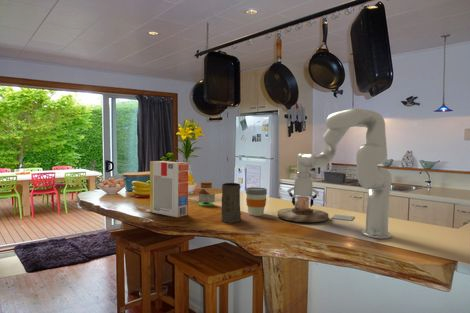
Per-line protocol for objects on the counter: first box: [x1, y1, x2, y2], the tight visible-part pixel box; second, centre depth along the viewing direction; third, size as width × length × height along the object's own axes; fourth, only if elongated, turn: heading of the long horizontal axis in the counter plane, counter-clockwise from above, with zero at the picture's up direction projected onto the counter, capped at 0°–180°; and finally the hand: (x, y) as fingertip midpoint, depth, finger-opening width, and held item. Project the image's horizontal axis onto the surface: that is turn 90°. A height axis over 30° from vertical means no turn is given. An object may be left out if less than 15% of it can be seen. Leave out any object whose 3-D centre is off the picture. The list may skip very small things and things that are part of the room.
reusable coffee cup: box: [245, 186, 268, 217], centre depth 198 cm, size 13×13×15 cm
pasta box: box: [149, 160, 189, 218], centre depth 195 cm, size 23×8×30 cm, turn 56°
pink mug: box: [296, 195, 310, 211], centre depth 188 cm, size 9×6×9 cm
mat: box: [330, 214, 355, 222], centre depth 192 cm, size 11×11×1 cm
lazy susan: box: [277, 200, 329, 223], centre depth 189 cm, size 28×28×6 cm
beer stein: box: [220, 182, 242, 224], centre depth 181 cm, size 15×11×20 cm
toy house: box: [197, 181, 216, 207], centre depth 225 cm, size 12×13×15 cm
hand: (302, 205), depth 189 cm, fingers open, 9 cm apart
